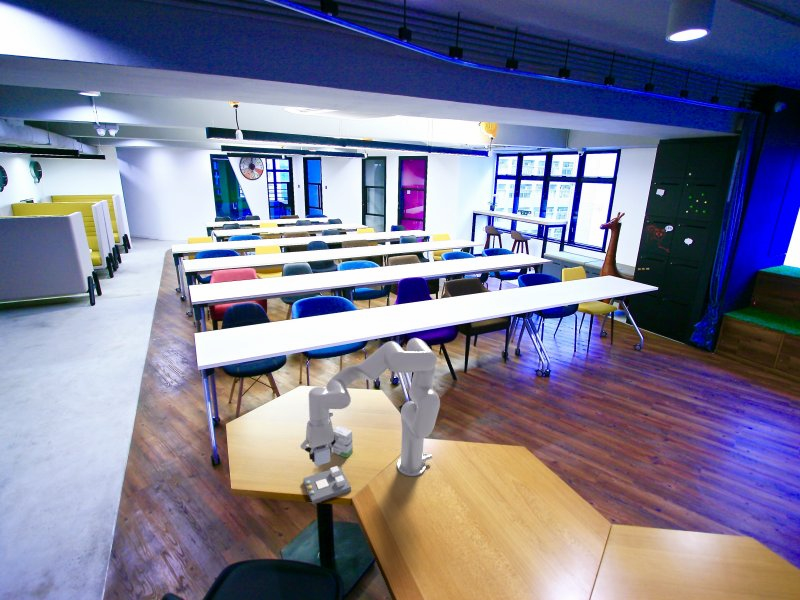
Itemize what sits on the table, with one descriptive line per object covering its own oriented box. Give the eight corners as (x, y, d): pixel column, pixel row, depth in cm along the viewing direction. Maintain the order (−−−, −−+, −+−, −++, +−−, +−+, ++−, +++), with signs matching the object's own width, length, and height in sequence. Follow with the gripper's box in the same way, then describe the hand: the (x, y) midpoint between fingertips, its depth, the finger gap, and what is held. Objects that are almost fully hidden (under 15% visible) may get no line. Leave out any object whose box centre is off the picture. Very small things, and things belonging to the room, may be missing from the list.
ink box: (353, 452, 189) (353, 430, 185) (347, 458, 185) (346, 436, 181) (338, 446, 193) (337, 424, 189) (331, 452, 189) (331, 430, 185)
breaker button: (325, 482, 171) (325, 478, 170) (329, 489, 167) (329, 485, 167) (315, 485, 169) (315, 481, 168) (318, 492, 165) (318, 489, 165)
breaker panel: (340, 470, 178) (339, 461, 177) (351, 490, 167) (351, 481, 166) (303, 482, 171) (303, 473, 169) (312, 504, 160) (312, 495, 158)
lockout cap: (325, 452, 167) (325, 439, 165) (330, 461, 162) (330, 448, 160) (311, 456, 165) (310, 443, 163) (315, 466, 160) (315, 452, 158)
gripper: (337, 408, 164) (338, 445, 170) (294, 419, 157) (296, 458, 162) (344, 418, 158) (344, 456, 164) (299, 430, 150) (301, 470, 156)
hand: (320, 457), depth 163 cm, fingers closed on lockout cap, 5 cm apart
